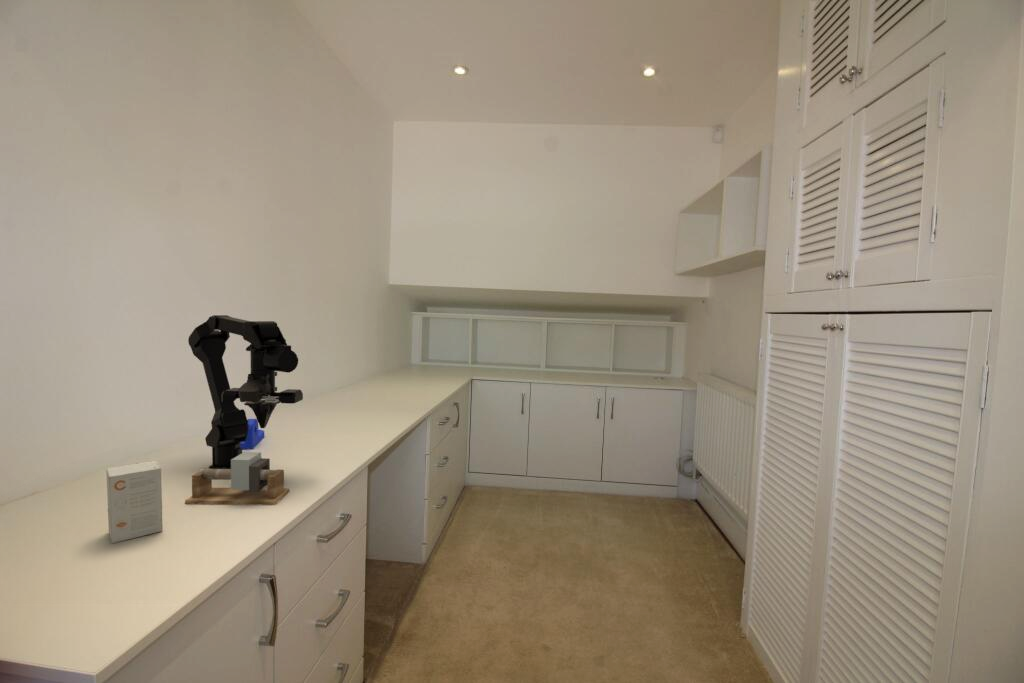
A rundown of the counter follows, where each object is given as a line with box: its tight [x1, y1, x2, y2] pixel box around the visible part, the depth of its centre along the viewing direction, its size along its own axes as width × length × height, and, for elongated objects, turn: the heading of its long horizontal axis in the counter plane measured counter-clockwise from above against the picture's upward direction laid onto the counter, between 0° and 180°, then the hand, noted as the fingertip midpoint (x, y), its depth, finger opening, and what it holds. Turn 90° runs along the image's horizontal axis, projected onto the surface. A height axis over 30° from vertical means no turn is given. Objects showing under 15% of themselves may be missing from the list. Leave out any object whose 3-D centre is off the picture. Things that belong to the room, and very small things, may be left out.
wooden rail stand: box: [184, 467, 290, 506], centre depth 115 cm, size 20×8×7 cm, turn 92°
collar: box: [249, 457, 271, 492], centre depth 115 cm, size 2×6×6 cm, turn 2°
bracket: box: [241, 418, 265, 451], centre depth 160 cm, size 18×8×9 cm, turn 13°
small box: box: [106, 460, 163, 544], centre depth 96 cm, size 8×6×13 cm
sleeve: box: [230, 451, 262, 490], centre depth 115 cm, size 4×6×7 cm, turn 2°
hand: (263, 427), depth 129 cm, fingers closed
